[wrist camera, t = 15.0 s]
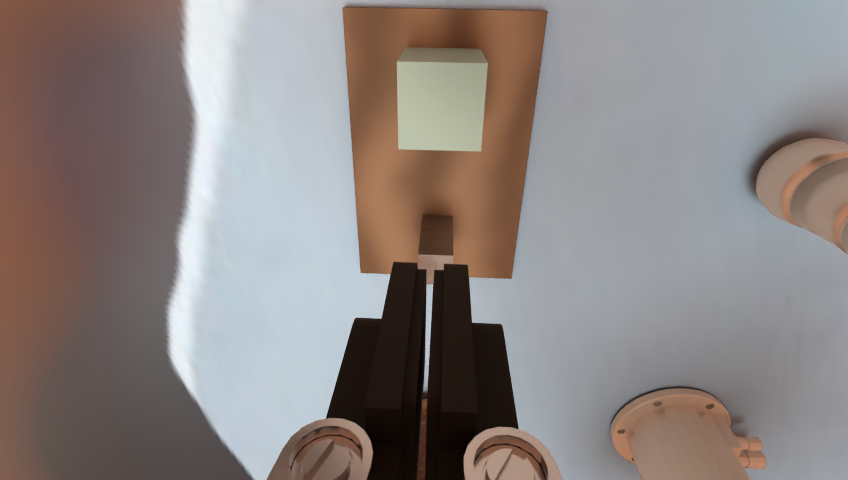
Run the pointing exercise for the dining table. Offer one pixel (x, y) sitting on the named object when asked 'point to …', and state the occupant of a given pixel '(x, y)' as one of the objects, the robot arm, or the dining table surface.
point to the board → (437, 169)
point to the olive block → (441, 98)
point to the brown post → (435, 244)
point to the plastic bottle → (809, 187)
